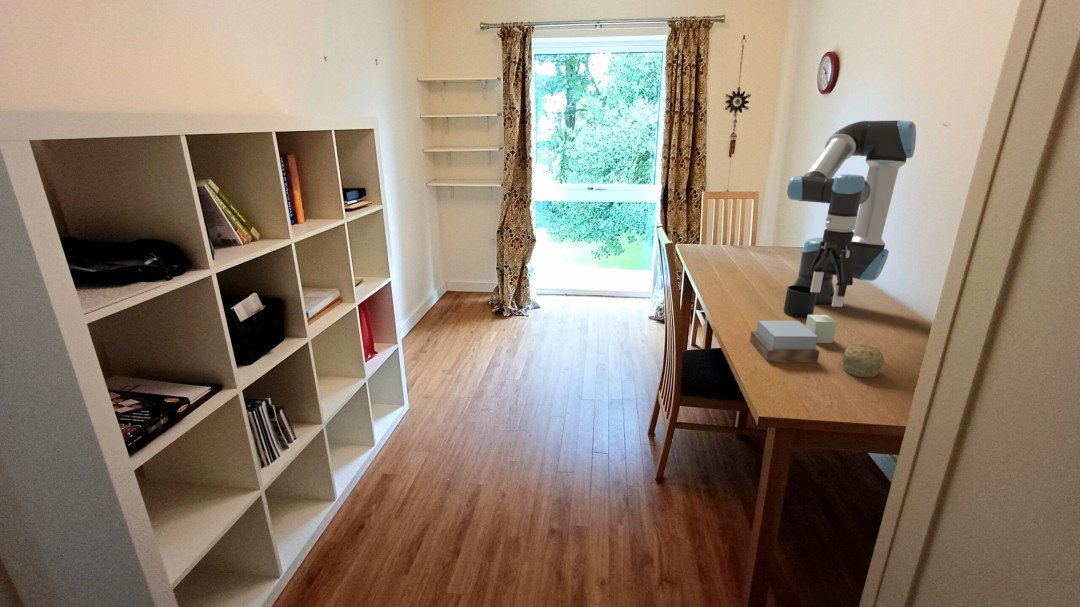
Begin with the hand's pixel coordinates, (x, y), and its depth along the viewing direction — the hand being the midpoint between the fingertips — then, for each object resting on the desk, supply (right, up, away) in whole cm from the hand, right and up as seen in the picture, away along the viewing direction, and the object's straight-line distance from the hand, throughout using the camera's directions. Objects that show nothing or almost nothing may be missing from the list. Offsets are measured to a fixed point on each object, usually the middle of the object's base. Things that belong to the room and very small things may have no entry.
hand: (825, 298), depth 155 cm
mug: (+5, -5, +27) cm, 28 cm away
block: (0, -13, +5) cm, 13 cm away
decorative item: (0, -20, -16) cm, 26 cm away
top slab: (-15, -12, -5) cm, 20 cm away
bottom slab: (-15, -16, -4) cm, 23 cm away
